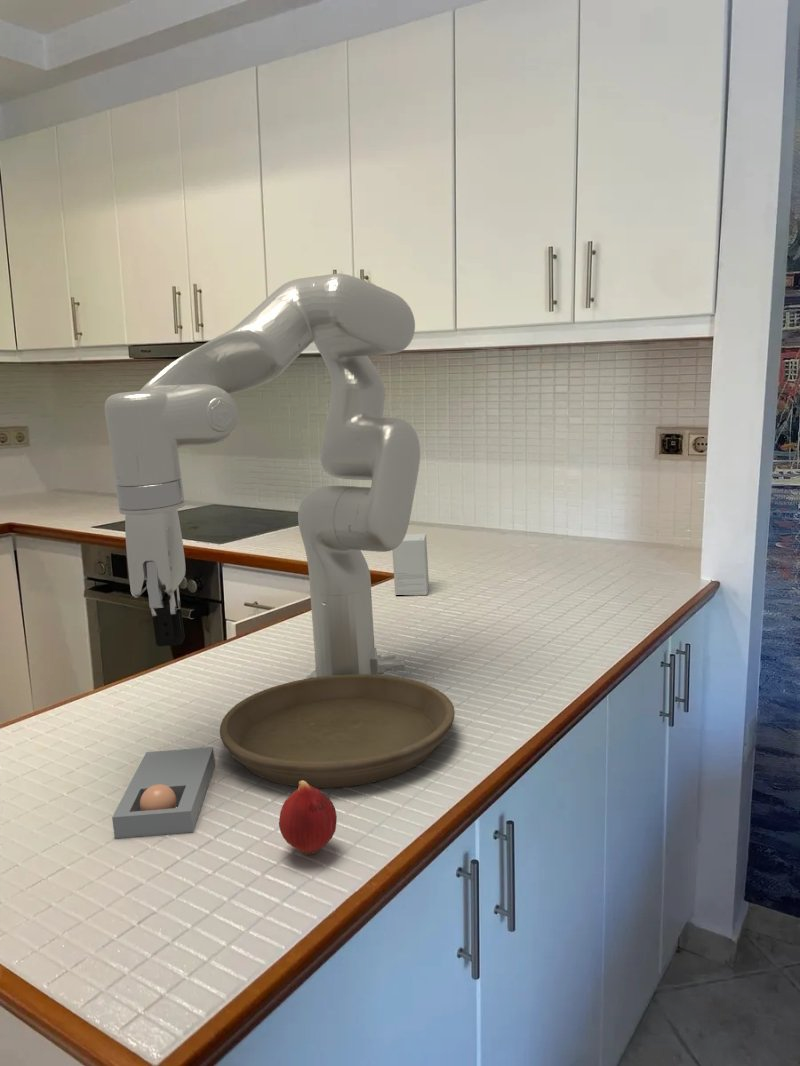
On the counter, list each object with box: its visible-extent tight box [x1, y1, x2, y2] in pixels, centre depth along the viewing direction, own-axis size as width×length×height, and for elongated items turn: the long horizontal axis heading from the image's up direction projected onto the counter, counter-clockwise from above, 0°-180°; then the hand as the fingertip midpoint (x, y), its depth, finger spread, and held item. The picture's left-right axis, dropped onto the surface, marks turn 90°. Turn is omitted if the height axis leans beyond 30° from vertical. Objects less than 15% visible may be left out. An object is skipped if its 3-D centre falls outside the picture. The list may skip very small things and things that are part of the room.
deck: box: [111, 746, 216, 839], centre depth 98 cm, size 8×16×2 cm, turn 4°
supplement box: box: [391, 533, 430, 596], centre depth 186 cm, size 7×7×13 cm
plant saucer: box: [219, 674, 456, 789], centre depth 111 cm, size 31×31×5 cm
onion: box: [278, 781, 338, 856], centre depth 85 cm, size 6×6×8 cm
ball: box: [140, 784, 177, 811], centre depth 94 cm, size 4×4×4 cm
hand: (170, 643), depth 103 cm, fingers closed
